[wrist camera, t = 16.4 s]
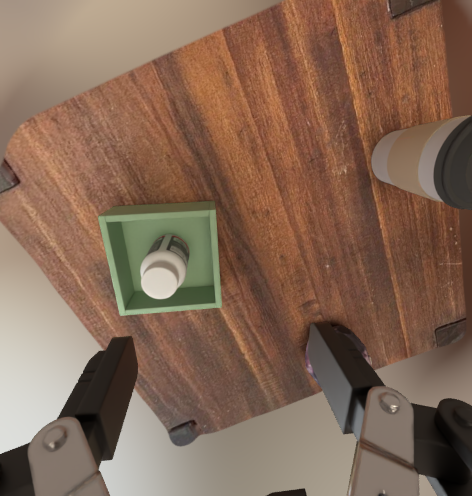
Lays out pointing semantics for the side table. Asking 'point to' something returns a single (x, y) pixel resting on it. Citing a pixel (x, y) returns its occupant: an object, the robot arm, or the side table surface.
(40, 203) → the side table surface
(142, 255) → the bin
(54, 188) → the side table surface
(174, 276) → the pill bottle
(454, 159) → the coffee cup
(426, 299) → the side table surface
